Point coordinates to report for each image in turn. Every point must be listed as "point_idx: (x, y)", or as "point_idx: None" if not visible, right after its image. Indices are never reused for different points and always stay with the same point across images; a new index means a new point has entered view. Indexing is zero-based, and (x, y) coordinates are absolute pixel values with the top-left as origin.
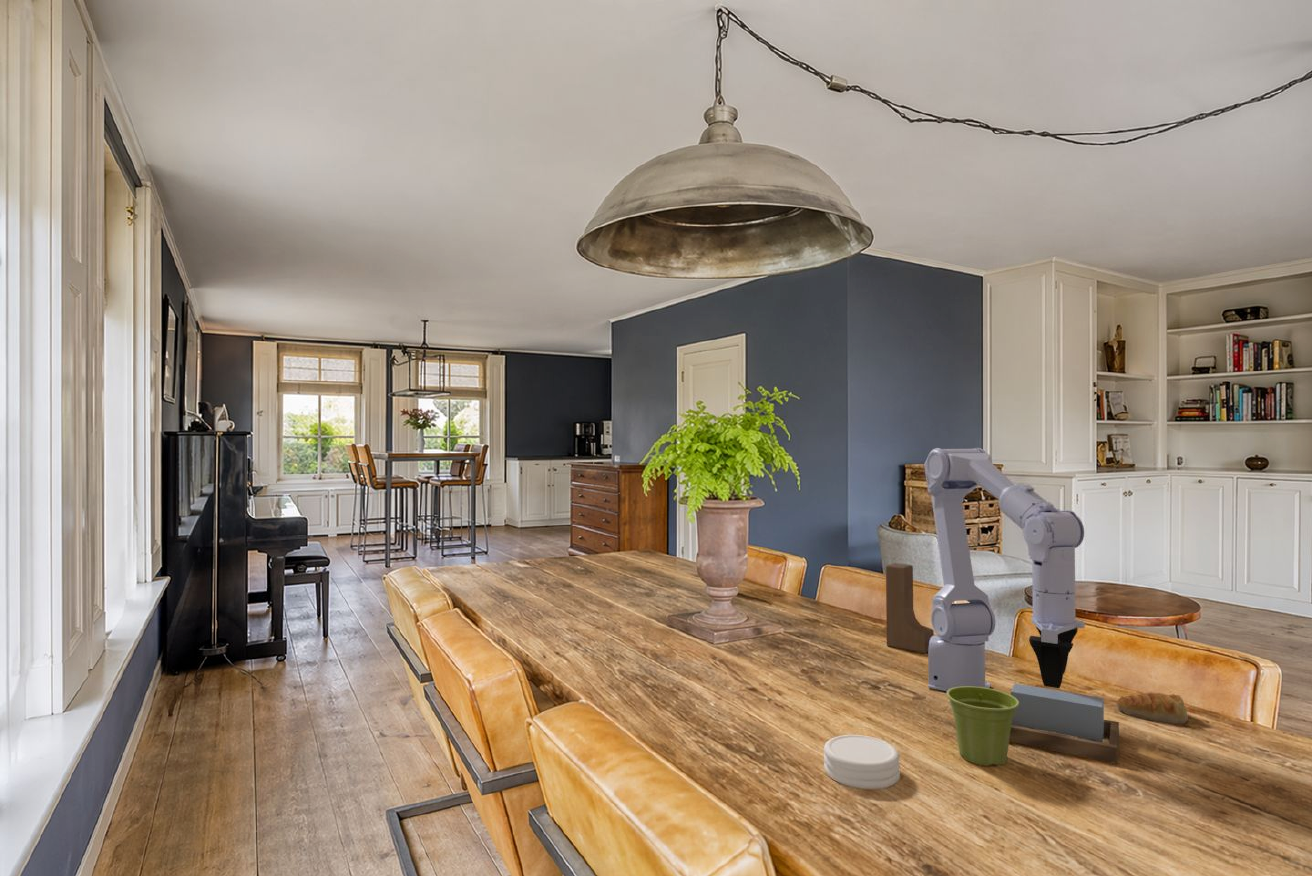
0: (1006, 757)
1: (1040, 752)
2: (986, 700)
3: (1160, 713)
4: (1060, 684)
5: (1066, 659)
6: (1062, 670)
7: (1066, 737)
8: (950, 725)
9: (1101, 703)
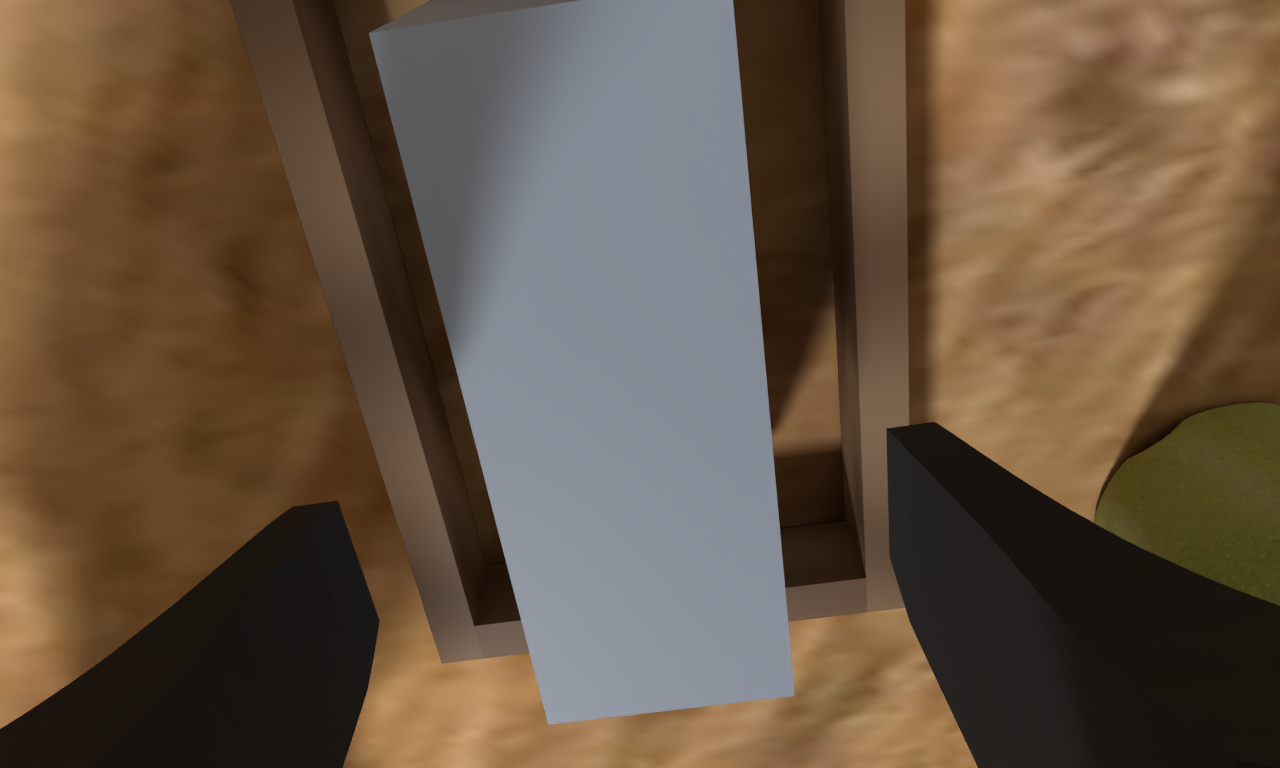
0: (1262, 413)
1: (953, 293)
2: None
3: None
4: (953, 438)
5: (255, 600)
6: (1087, 523)
7: (895, 192)
8: (829, 733)
9: (595, 12)
